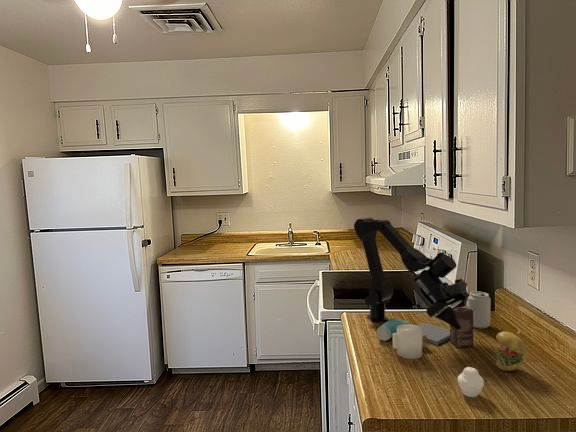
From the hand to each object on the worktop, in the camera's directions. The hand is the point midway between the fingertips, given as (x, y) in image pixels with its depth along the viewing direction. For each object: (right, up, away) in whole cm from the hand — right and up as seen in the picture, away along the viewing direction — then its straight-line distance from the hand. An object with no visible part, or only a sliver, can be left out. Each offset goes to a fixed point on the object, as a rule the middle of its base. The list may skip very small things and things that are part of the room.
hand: (465, 325), depth 132 cm
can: (+12, -5, +18) cm, 22 cm away
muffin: (-11, -10, -28) cm, 31 cm away
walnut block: (-15, -7, +2) cm, 17 cm away
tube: (-25, -4, +5) cm, 26 cm away
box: (-1, -7, +2) cm, 7 cm away
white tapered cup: (-19, -8, -4) cm, 21 cm away
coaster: (-8, -6, +10) cm, 14 cm away
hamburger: (+6, -8, -15) cm, 18 cm away
